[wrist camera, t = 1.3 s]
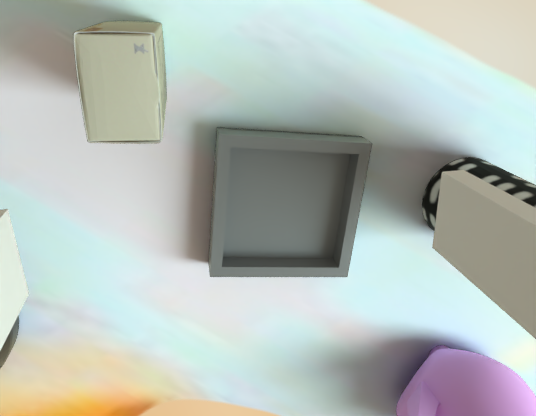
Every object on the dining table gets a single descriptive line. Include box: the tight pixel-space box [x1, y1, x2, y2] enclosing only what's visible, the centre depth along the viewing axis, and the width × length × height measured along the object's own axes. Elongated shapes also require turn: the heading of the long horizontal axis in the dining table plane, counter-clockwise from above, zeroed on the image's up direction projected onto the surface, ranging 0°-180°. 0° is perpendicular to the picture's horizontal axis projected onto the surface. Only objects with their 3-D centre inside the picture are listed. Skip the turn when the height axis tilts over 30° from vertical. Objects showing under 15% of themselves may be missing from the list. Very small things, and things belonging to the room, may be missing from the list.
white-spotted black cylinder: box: [422, 158, 536, 231], centre depth 37 cm, size 8×8×20 cm
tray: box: [208, 127, 372, 277], centre depth 42 cm, size 13×13×2 cm
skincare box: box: [73, 21, 167, 144], centre depth 31 cm, size 6×4×12 cm
